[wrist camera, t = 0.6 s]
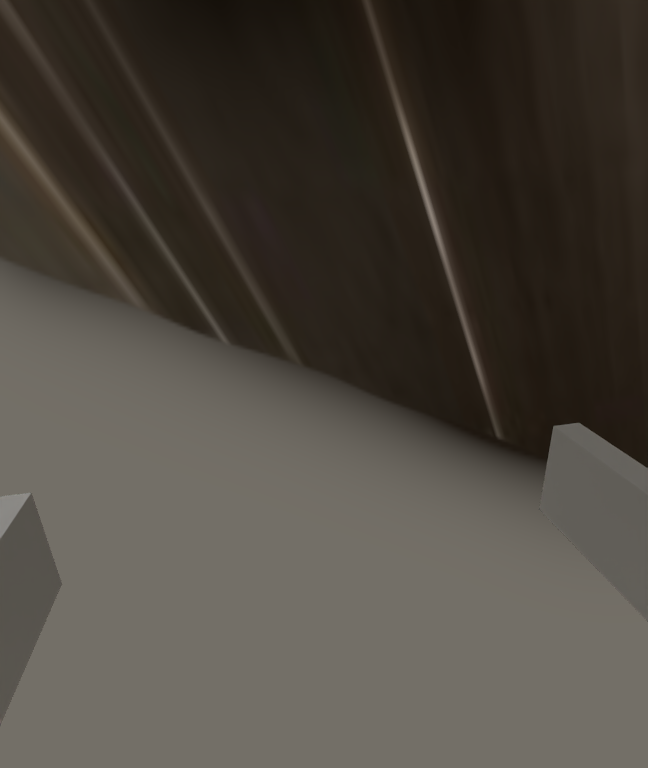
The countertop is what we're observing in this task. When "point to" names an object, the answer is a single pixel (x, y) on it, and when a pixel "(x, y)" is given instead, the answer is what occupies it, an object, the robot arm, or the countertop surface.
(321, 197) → the countertop surface
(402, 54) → the countertop surface
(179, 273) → the countertop surface
